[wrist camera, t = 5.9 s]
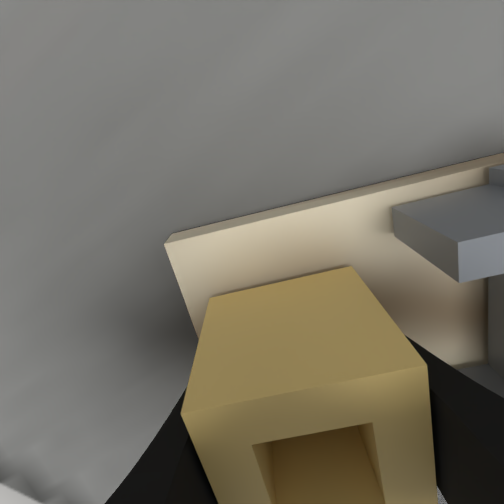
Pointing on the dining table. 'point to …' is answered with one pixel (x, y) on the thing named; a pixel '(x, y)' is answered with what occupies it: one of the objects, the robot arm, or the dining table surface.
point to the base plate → (347, 258)
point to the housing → (465, 253)
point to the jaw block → (310, 398)
